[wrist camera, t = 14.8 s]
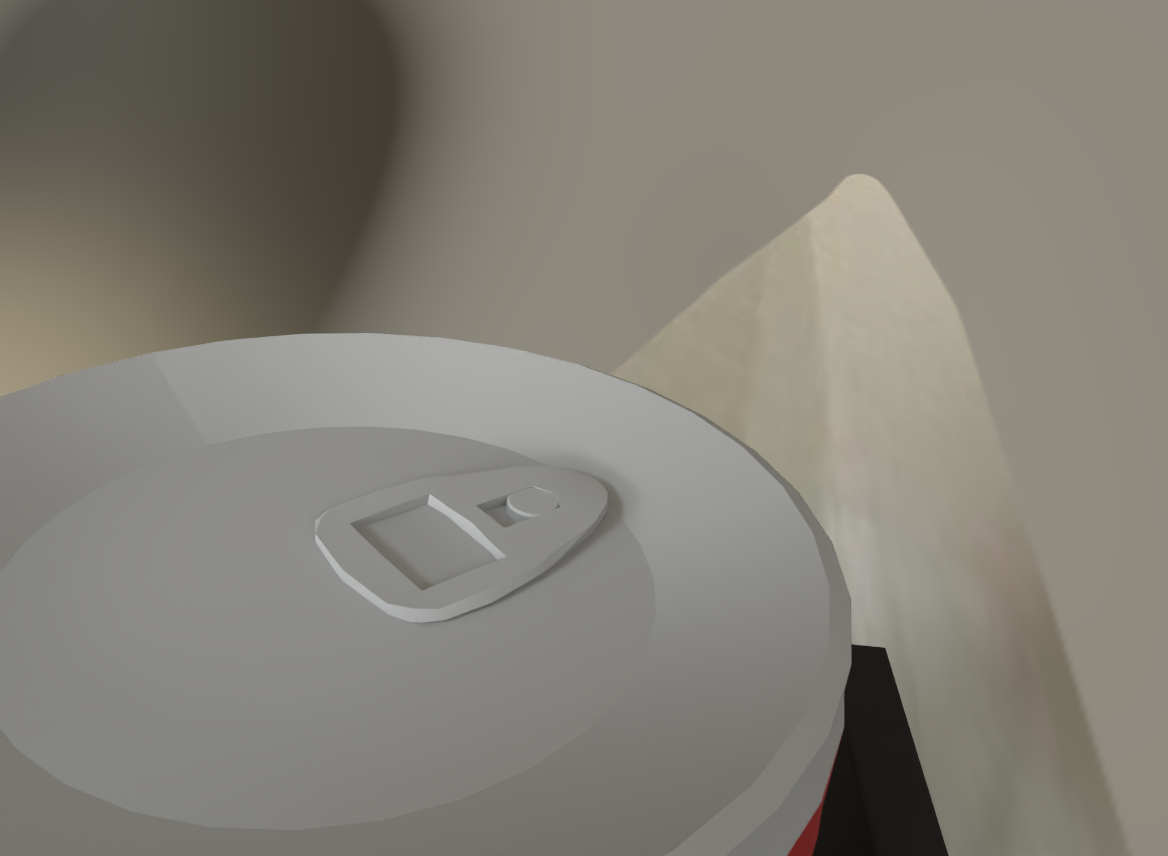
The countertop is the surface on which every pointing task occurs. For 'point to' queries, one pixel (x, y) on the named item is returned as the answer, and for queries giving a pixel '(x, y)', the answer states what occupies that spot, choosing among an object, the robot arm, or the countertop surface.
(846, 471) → the countertop surface
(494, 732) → the canned food
